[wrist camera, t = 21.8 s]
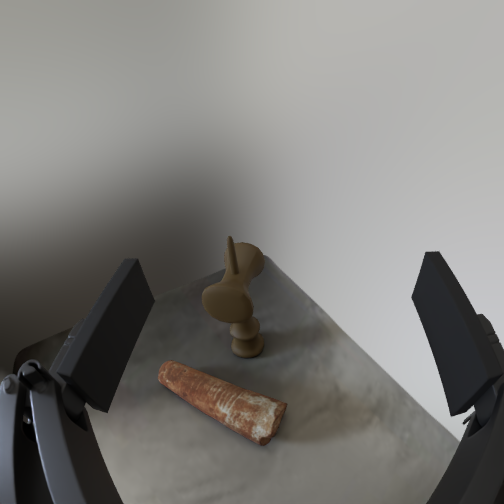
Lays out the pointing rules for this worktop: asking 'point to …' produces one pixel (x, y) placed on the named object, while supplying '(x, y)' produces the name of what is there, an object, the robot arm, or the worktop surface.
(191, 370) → the reddish brown tapered cylinder
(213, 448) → the worktop surface
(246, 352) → the kendama
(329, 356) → the worktop surface
